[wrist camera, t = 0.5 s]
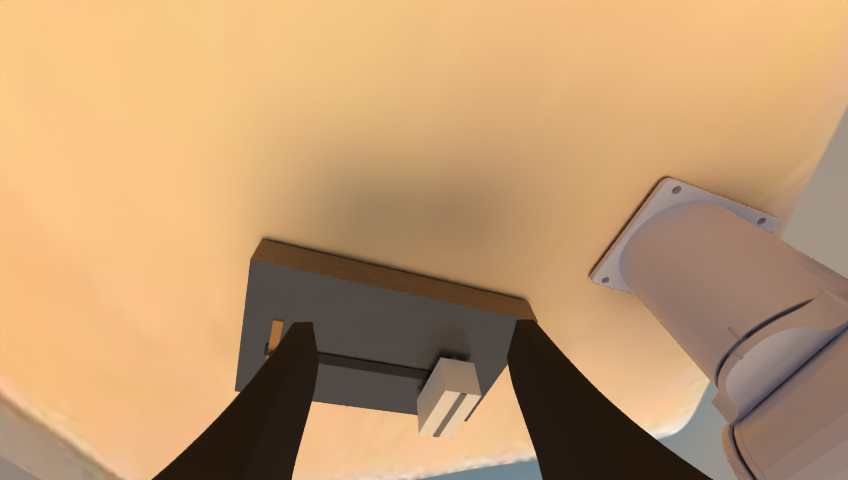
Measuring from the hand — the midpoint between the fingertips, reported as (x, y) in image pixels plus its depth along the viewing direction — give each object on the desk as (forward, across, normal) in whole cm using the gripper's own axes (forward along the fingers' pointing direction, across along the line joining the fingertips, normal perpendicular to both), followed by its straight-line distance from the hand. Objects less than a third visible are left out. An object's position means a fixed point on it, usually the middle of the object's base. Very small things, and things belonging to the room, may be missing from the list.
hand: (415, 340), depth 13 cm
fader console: (+9, +2, +10) cm, 14 cm away
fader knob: (+7, -3, +12) cm, 15 cm away
